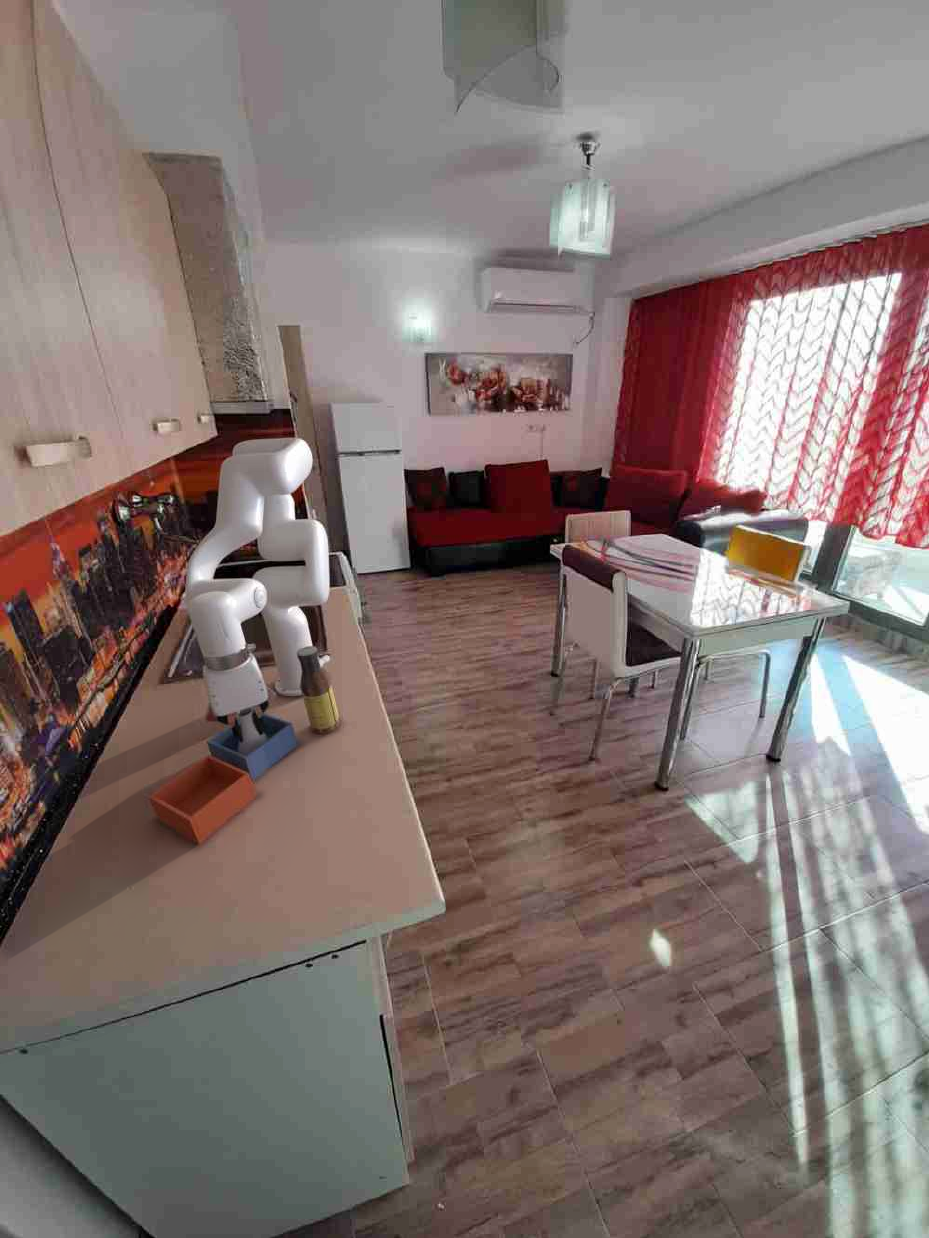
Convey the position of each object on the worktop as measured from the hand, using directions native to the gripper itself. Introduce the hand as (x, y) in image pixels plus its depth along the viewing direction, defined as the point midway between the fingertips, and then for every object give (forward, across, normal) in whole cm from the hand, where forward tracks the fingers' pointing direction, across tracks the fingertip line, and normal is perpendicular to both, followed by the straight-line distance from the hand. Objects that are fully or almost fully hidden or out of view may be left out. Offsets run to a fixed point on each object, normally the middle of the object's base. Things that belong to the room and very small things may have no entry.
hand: (250, 734), depth 97 cm
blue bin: (+5, 0, 0) cm, 5 cm away
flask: (+5, 0, 0) cm, 5 cm away
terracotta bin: (+5, +10, +10) cm, 15 cm away
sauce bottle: (+5, -15, 0) cm, 16 cm away
